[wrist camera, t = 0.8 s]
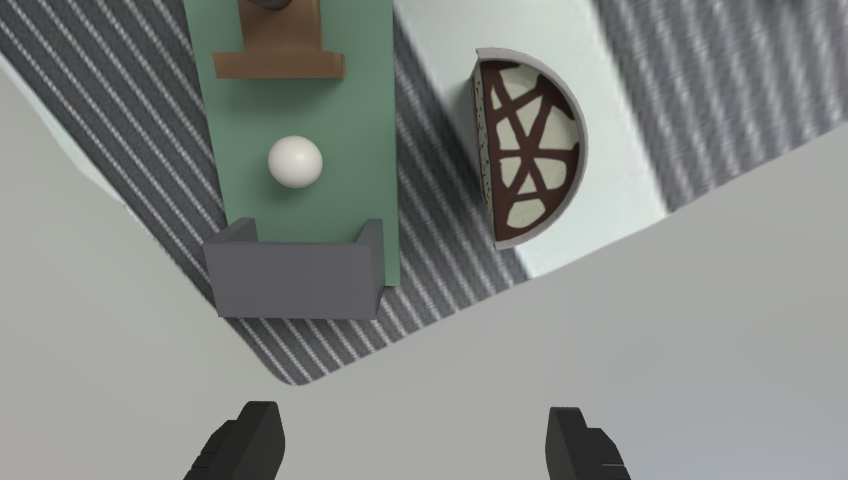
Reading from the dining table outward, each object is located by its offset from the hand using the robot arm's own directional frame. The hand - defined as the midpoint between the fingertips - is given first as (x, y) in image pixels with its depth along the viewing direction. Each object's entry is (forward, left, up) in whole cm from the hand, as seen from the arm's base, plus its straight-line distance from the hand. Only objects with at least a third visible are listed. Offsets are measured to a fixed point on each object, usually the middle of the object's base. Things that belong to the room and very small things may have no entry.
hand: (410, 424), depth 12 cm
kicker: (-13, -10, -23) cm, 29 cm away
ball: (-4, -10, -22) cm, 24 cm away
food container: (-5, +7, -25) cm, 26 cm away
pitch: (-6, -10, -25) cm, 27 cm away
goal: (+5, -10, -23) cm, 26 cm away
